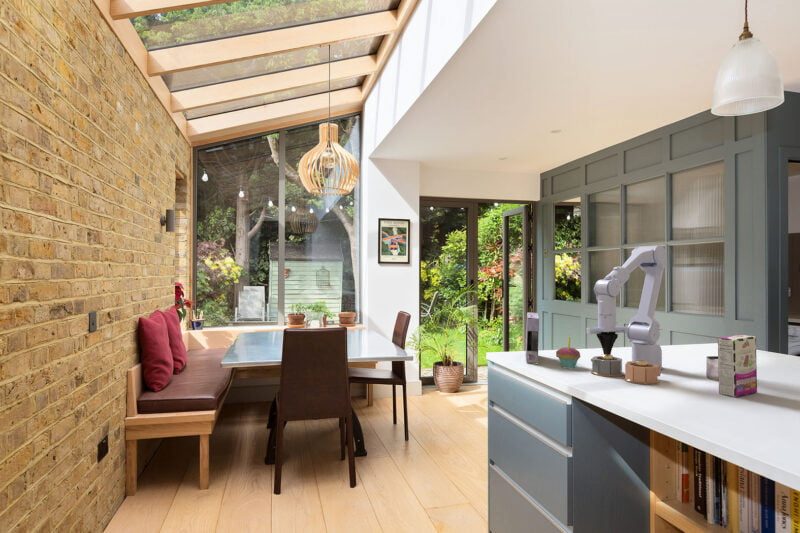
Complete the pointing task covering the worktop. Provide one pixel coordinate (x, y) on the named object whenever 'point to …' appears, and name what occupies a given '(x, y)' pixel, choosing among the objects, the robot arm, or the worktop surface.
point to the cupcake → (568, 356)
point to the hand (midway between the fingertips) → (607, 354)
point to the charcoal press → (607, 367)
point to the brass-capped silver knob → (606, 357)
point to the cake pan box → (532, 337)
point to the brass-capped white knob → (641, 363)
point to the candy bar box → (737, 365)
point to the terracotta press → (642, 373)
